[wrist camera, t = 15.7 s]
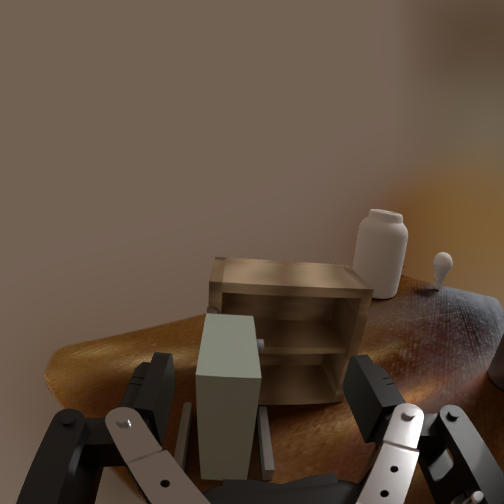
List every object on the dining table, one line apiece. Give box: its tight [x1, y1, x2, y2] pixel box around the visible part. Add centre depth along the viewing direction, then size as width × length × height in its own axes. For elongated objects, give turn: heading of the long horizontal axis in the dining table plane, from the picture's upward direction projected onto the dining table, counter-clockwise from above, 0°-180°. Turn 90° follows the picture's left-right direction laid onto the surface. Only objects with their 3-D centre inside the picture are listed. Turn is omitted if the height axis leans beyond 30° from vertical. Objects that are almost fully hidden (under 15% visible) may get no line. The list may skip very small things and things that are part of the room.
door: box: [196, 313, 264, 480], centre depth 23 cm, size 5×8×13 cm, turn 3°
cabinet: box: [174, 257, 374, 480], centre depth 28 cm, size 18×19×15 cm
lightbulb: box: [433, 252, 453, 290], centre depth 71 cm, size 6×6×11 cm
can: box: [352, 209, 408, 299], centre depth 67 cm, size 12×12×20 cm
